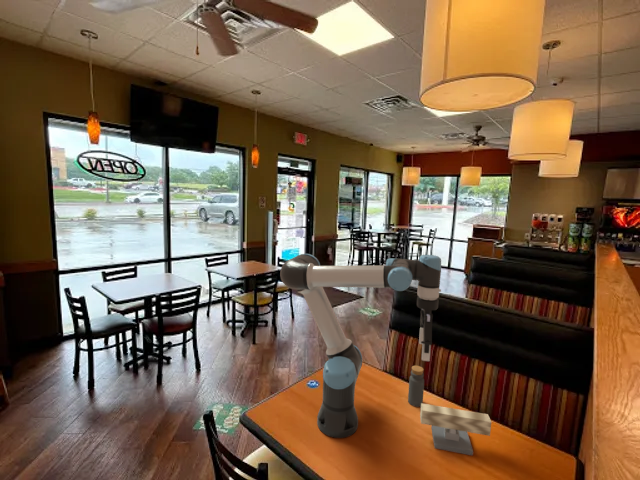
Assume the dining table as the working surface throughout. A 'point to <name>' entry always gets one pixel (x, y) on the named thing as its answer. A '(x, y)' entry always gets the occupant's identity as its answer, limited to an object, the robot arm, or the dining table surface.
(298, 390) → the dining table surface
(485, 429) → the beam
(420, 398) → the bottle
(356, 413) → the robot arm
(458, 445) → the fulcrum
